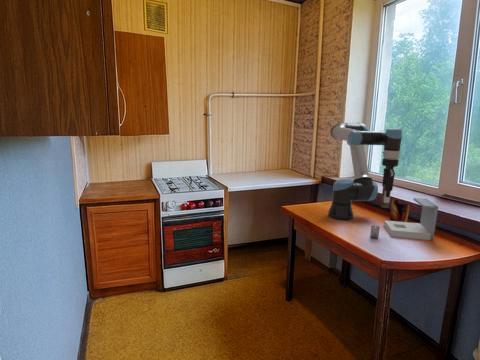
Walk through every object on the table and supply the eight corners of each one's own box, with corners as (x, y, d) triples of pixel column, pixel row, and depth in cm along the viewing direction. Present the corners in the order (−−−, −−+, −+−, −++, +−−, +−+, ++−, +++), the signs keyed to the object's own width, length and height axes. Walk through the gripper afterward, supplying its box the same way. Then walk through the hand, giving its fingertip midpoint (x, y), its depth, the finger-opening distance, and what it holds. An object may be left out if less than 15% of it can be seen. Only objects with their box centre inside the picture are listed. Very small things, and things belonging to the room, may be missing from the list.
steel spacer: (369, 235, 158) (370, 225, 157) (377, 236, 157) (378, 225, 156) (370, 238, 154) (372, 227, 153) (379, 239, 153) (380, 228, 152)
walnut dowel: (379, 205, 164) (382, 184, 161) (387, 206, 163) (390, 184, 160) (381, 207, 160) (384, 186, 157) (389, 208, 159) (392, 186, 156)
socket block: (383, 226, 173) (387, 196, 169) (422, 229, 168) (426, 198, 165) (390, 236, 157) (394, 203, 154) (433, 240, 153) (438, 206, 149)
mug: (402, 226, 173) (404, 206, 171) (386, 218, 187) (388, 199, 184) (416, 225, 175) (419, 205, 173) (399, 217, 189) (401, 199, 186)
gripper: (379, 155, 165) (374, 196, 170) (386, 160, 148) (381, 205, 153) (394, 156, 163) (389, 197, 168) (403, 161, 147) (397, 206, 152)
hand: (385, 201), depth 161 cm, fingers closed on walnut dowel, 4 cm apart
